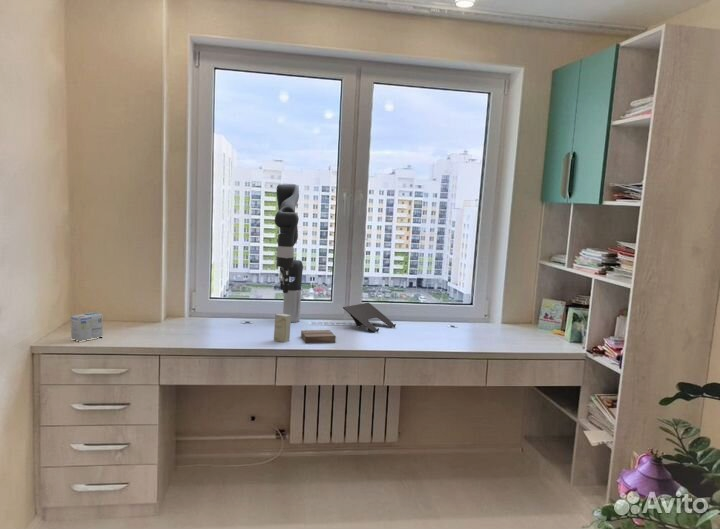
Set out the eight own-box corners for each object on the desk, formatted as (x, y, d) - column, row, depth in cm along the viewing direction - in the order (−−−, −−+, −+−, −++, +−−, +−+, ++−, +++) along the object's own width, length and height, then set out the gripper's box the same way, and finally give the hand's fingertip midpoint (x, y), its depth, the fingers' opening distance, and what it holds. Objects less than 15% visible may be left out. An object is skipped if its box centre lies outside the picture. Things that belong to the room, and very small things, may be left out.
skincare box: (273, 340, 236) (274, 314, 235) (279, 338, 240) (280, 312, 238) (284, 342, 233) (285, 316, 232) (290, 340, 237) (291, 314, 236)
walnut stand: (300, 336, 245) (301, 330, 245) (329, 336, 249) (329, 330, 249) (305, 343, 234) (305, 336, 233) (335, 342, 238) (335, 336, 237)
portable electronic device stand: (367, 344, 261) (375, 330, 257) (337, 317, 272) (344, 303, 269) (392, 337, 279) (399, 323, 276) (363, 312, 290) (370, 299, 287)
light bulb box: (93, 335, 228) (93, 311, 227) (103, 338, 225) (103, 313, 223) (70, 340, 218) (70, 315, 217) (80, 342, 215) (80, 317, 214)
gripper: (274, 254, 238) (273, 288, 240) (279, 257, 224) (277, 294, 226) (290, 254, 240) (289, 289, 242) (296, 257, 227) (294, 294, 228)
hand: (283, 291), depth 234 cm, fingers open, 8 cm apart
